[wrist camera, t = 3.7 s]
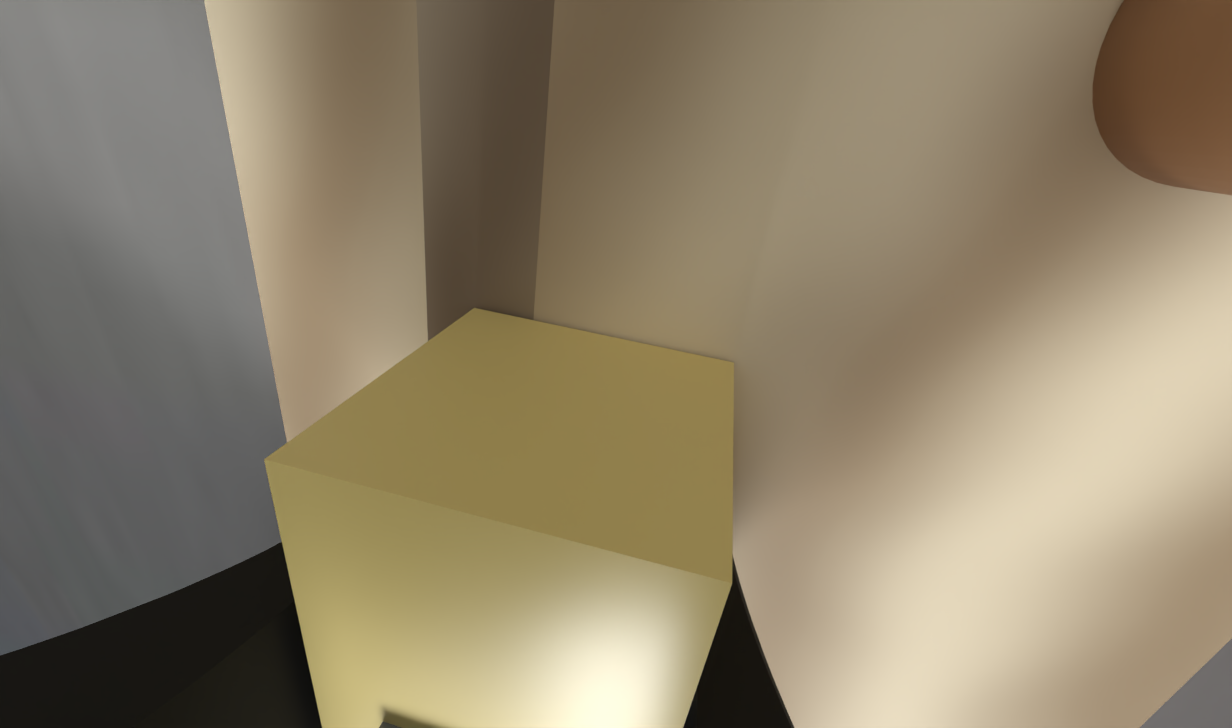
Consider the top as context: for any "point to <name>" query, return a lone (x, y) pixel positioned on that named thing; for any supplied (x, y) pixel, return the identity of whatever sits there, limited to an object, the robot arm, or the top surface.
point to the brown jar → (1169, 92)
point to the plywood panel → (799, 305)
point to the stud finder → (513, 532)
